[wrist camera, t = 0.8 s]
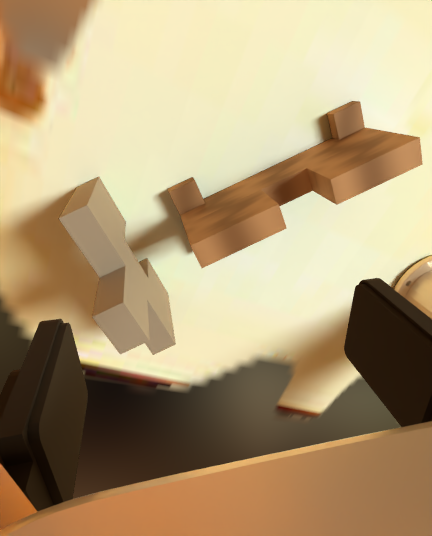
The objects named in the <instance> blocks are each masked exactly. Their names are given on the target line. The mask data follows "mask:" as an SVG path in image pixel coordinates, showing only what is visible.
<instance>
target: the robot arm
mask: <svg viewBox="0 0 432 536" xmlns="http://www.w3.org/2000/svg"><path fill="white" fill-rule="evenodd" d="M344 350H345V354H346V356H347V358H348V359H349V360H350V361H351V363H352V364H353V365H354V367H355V368H356V369H357V370H358V372H359V373H360V374H361V376H362V377H363V378H364V379H365V381H366V382H367V383H368V384H369V386H370V387H371V388H372V390H373V391H374V392H375V393H376V395H377V396H378V397H379V399H380V400H381V401H382V402H383V404H384V405H385V406H386V408H387V409H388V410H389V411H390V413H391V414H392V415H393V416H394V418H395V419H396V420H397V422H398V423H399V424H400V425H401V427H400V428H395V429H390V430H385V431H380V432H375V433H371V434H365V435H361V436H356V437H351V438H346V439H341V440H336V441H331V442H327V443H322V444H317V445H313V446H307V447H303V448H298V449H293V450H288V451H284V452H278V453H274V454H269V455H264V456H259V457H255V458H250V459H245V460H241V461H236V462H231V463H227V464H222V465H218V466H213V467H208V468H203V469H199V470H194V471H189V472H185V473H180V474H175V475H171V476H166V477H162V478H157V479H153V480H148V481H144V482H140V483H135V484H131V485H127V486H122V487H118V488H114V489H110V490H105V491H101V492H97V493H94V494H90V495H86V496H83V497H79V498H76V499H73V493H74V485H75V479H76V473H77V466H78V459H79V453H80V446H81V439H82V433H83V426H84V419H85V412H86V407H87V399H88V397H87V396H88V395H87V387H86V383H85V379H84V375H83V372H82V368H81V364H80V360H79V356H78V352H77V348H76V345H75V341H74V337H73V333H72V329H71V326H70V324H69V323H63V321H62V319H56V320H48V321H41V322H40V323H39V325H38V328H37V330H36V333H35V335H34V338H33V340H32V343H31V345H30V348H29V350H28V353H27V355H26V358H25V360H24V363H23V365H22V368H21V369H19V370H14V371H12V372H11V373H10V375H9V376H8V379H7V381H6V383H5V385H4V388H3V390H2V392H1V395H0V536H432V256H429V257H427V258H425V259H423V260H421V261H419V262H418V263H416V264H415V265H413V266H412V267H411V268H410V269H409V270H407V272H406V273H405V274H404V275H403V276H402V277H401V278H400V280H399V281H398V283H397V284H396V286H395V288H394V289H393V288H392V287H390V286H389V285H388V284H386V283H385V282H384V281H383V280H381V279H379V278H375V279H367V280H362V281H361V282H360V283H359V285H357V286H356V287H355V291H354V297H353V302H352V307H351V313H350V318H349V324H348V329H347V335H346V340H345V346H344Z"/></svg>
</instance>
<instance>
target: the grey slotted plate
mask: <svg viewBox="0 0 432 536" xmlns="http://www.w3.org/2000/svg"><path fill="white" fill-rule="evenodd" d="M59 220H60V222H61V223H62V224H63V226H64V227H65V229H66V230H67V232H68V233H69V235H70V236H71V237H72V239H73V240H74V242H75V243H76V245H77V246H78V247H79V249H80V250H81V252H82V253H83V255H84V256H85V258H86V259H87V260H88V262H89V263H90V265H91V266H92V268H93V269H94V270H95V272H96V273H97V275H98V276H99V283H98V289H97V294H96V299H95V304H94V309H93V314H92V318H93V319H94V320H95V322H96V323H97V324H98V326H99V327H100V328H101V330H102V331H103V332H104V334H105V335H106V336H107V337H108V339H109V340H110V341H111V343H112V344H113V345H114V347H115V348H116V349H117V351H118V352H119V353H120V354H122V353H124V352H126V351H128V350H131V349H133V348H135V347H137V346H139V345H141V344H143V343H145V344H146V345H147V347H148V348H149V350H150V351H151V352H152V354H153V355H154V354H156V353H158V352H160V351H162V350H165V349H167V348H169V347H171V346H173V345H175V344H176V343H175V337H174V330H173V324H172V317H171V310H170V304H169V297H168V293H167V291H166V289H165V288H164V286H163V284H162V283H161V281H160V279H159V277H158V276H157V274H156V272H155V271H154V269H153V267H152V266H151V264H150V262H149V261H148V259H145V260H142V261H140V262H138V261H137V259H136V257H135V256H134V254H133V252H132V251H131V249H130V247H129V246H128V244H127V242H126V241H125V239H124V238H125V226H126V222H125V220H124V218H123V216H122V215H121V213H120V211H119V210H118V208H117V206H116V205H115V203H114V201H113V200H112V198H111V196H110V194H109V193H108V191H107V189H106V188H105V186H104V184H103V183H102V181H101V179H100V177H97V178H95V179H93V180H91V181H89V182H87V183H85V184H82V185H80V186H78V187H77V188H76V190H75V191H74V193H73V195H72V197H71V198H70V200H69V202H68V203H67V205H66V207H65V208H64V210H63V212H62V213H61V215H60V217H59Z"/></svg>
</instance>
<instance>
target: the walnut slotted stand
mask: <svg viewBox="0 0 432 536" xmlns="http://www.w3.org/2000/svg"><path fill="white" fill-rule="evenodd" d="M327 115H328V120H329V124H330V129H331V133H332V138H331V139H329V140H327V141H325V142H323V143H321V144H319V145H316V146H314V147H312V148H310V149H308V150H306V151H304V152H302V153H300V154H297V155H295V156H293V157H291V158H289V159H287V160H285V161H283V162H281V163H278V164H276V165H274V166H272V167H270V168H268V169H266V170H264V171H262V172H259V173H257V174H255V175H253V176H251V177H249V178H247V179H245V180H243V181H240V182H238V183H236V184H234V185H232V186H230V187H228V188H226V189H224V190H221V191H219V192H217V193H215V194H213V195H211V196H209V197H207V198H205V199H203V198H202V195H201V193H200V191H199V189H198V186H197V184H196V182H195V180H194V178H193V177H192V178H190V179H187V180H185V181H183V182H181V183H179V184H177V185H175V186H173V187H171V188H168V192H169V194H170V196H171V198H172V200H173V202H174V204H175V206H176V208H177V210H178V212H179V214H180V216H181V219H182V222H183V225H184V228H185V231H186V234H187V237H188V240H189V243H190V246H191V248H192V250H193V252H194V254H195V256H196V258H197V260H198V262H199V263H200V265H201V267H202V268H203V267H205V266H208V265H210V264H212V263H214V262H216V261H218V260H220V259H222V258H225V257H227V256H229V255H231V254H233V253H235V252H237V251H239V250H242V249H244V248H246V247H248V246H250V245H252V244H254V243H256V242H259V241H261V240H263V239H265V238H267V237H269V236H271V235H273V234H275V233H278V232H280V231H282V230H284V229H286V225H285V222H284V219H283V216H282V213H281V210H280V207H279V206H281V205H283V204H285V203H287V202H289V201H292V200H294V199H296V198H298V197H300V196H302V195H304V194H306V193H309V192H311V191H314V192H316V193H318V194H319V195H321V196H323V197H325V198H326V199H328V200H330V201H331V202H333V203H335V204H336V205H337V204H339V203H341V202H343V201H346V200H348V199H350V198H352V197H354V196H356V195H358V194H360V193H363V192H365V191H367V190H369V189H371V188H373V187H375V186H377V185H380V184H382V183H384V182H386V181H388V180H390V179H392V178H394V177H396V176H399V175H401V174H403V173H405V172H407V171H409V170H411V169H413V168H416V167H418V166H420V165H422V155H421V145H420V137H414V136H409V135H403V134H397V133H392V132H386V131H381V130H375V129H370V128H365V127H364V121H363V116H362V110H361V104H360V102H358V101H352V102H349V103H347V104H345V105H343V106H341V107H339V108H337V109H335V110H333V111H331V112H328V113H327Z"/></svg>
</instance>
